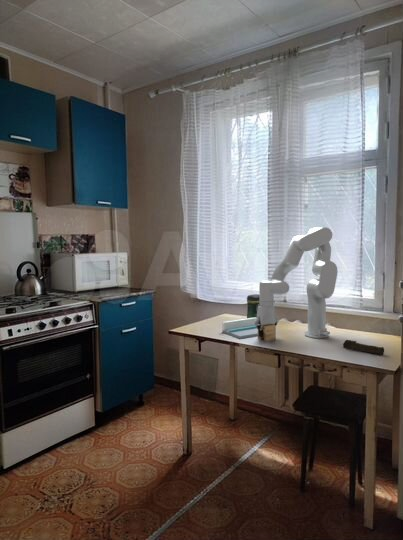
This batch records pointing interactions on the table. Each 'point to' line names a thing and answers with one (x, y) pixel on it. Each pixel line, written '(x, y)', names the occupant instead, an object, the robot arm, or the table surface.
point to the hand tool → (363, 347)
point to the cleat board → (240, 328)
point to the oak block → (268, 332)
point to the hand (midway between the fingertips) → (266, 335)
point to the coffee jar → (252, 305)
